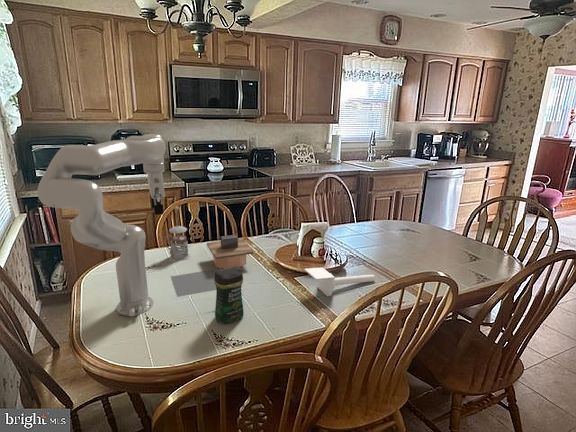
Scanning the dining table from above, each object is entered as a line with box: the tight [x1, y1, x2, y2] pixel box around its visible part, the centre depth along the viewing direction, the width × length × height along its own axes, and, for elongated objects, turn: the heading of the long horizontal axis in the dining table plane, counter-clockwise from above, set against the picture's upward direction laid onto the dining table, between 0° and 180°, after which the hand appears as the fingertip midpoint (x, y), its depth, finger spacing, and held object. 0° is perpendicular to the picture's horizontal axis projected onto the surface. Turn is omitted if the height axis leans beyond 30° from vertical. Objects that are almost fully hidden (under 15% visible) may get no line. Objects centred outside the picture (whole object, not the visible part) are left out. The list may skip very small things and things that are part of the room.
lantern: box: [163, 206, 192, 262], centre depth 178 cm, size 10×12×25 cm
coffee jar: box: [214, 266, 245, 325], centre depth 132 cm, size 10×8×19 cm
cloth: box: [206, 234, 254, 259], centre depth 174 cm, size 17×17×6 cm
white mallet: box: [303, 267, 376, 297], centre depth 156 cm, size 9×9×32 cm
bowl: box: [212, 255, 247, 269], centre depth 176 cm, size 14×14×7 cm
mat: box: [170, 269, 216, 298], centre depth 157 cm, size 18×18×1 cm
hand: (157, 210), depth 150 cm, fingers open, 9 cm apart
